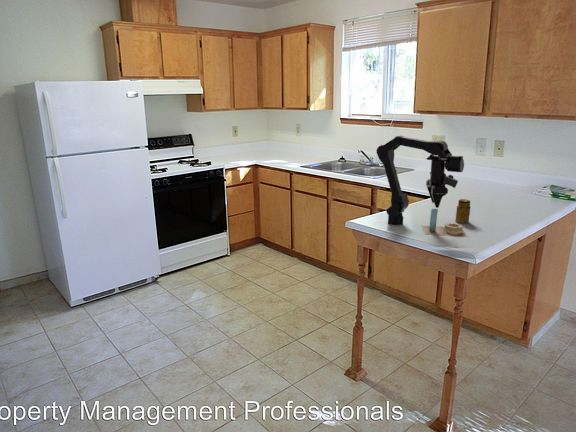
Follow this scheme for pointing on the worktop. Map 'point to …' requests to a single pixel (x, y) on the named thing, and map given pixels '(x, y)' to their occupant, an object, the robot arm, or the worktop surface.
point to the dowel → (433, 220)
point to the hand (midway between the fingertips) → (435, 205)
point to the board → (441, 232)
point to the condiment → (463, 211)
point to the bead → (453, 228)
